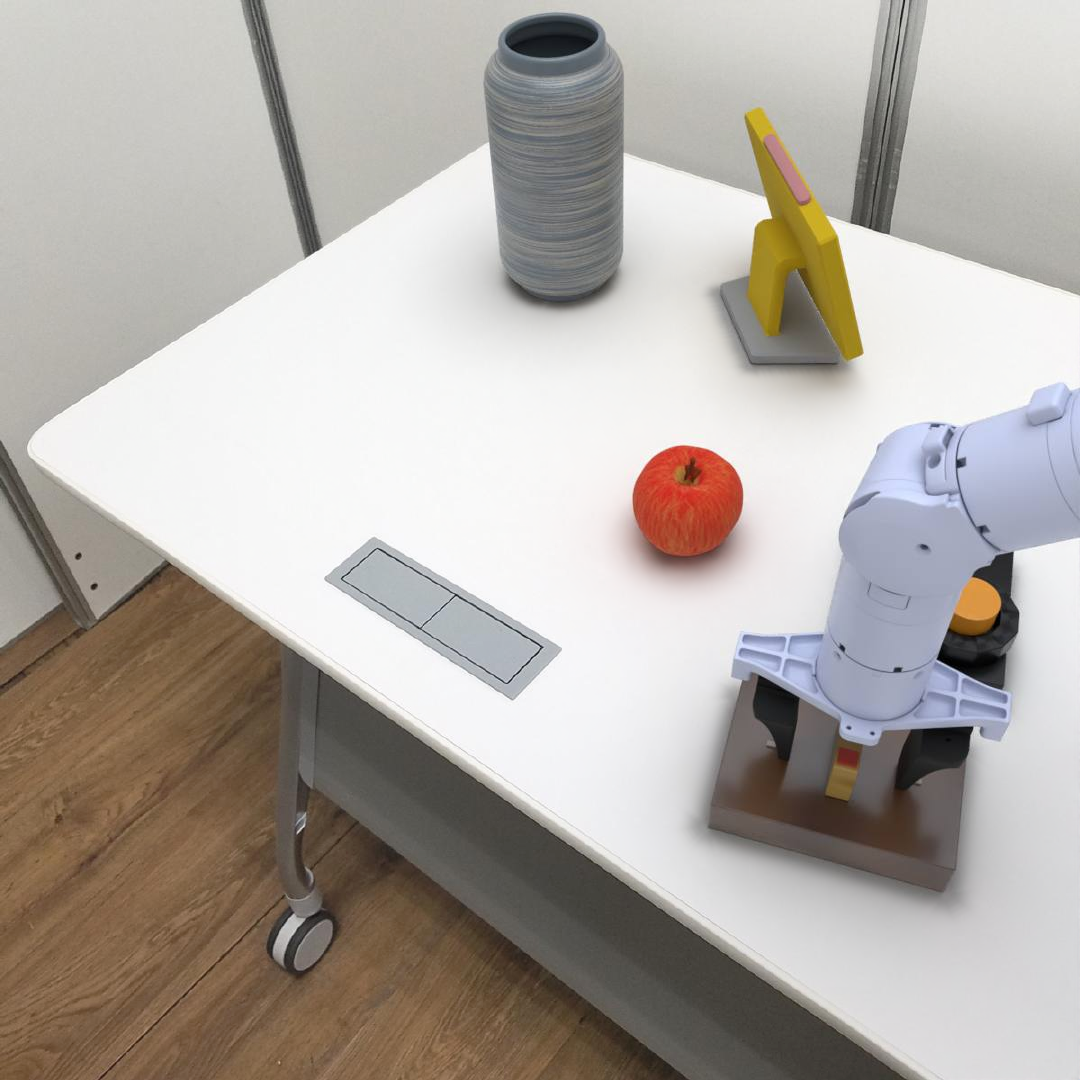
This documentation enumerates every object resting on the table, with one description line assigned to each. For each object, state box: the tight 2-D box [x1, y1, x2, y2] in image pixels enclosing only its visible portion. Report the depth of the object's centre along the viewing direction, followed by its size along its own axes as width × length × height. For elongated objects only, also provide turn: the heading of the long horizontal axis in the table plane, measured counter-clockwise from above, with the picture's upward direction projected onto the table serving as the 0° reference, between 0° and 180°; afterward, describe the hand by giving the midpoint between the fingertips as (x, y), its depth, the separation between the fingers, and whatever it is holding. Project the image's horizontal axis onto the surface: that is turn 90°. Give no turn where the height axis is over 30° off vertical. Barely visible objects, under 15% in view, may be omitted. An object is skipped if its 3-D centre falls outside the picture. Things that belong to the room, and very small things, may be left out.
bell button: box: [948, 577, 1001, 636], centre depth 72 cm, size 4×4×2 cm
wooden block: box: [825, 722, 863, 801], centre depth 65 cm, size 5×1×4 cm, turn 161°
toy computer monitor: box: [719, 106, 865, 364], centre depth 93 cm, size 20×8×16 cm, turn 9°
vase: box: [482, 11, 625, 302], centre depth 97 cm, size 12×12×23 cm
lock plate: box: [707, 673, 967, 893], centre depth 67 cm, size 14×10×3 cm
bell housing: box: [936, 551, 1020, 690], centre depth 75 cm, size 10×12×4 cm
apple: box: [631, 444, 744, 557], centre depth 80 cm, size 8×8×8 cm
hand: (843, 760), depth 66 cm, fingers open, 6 cm apart
